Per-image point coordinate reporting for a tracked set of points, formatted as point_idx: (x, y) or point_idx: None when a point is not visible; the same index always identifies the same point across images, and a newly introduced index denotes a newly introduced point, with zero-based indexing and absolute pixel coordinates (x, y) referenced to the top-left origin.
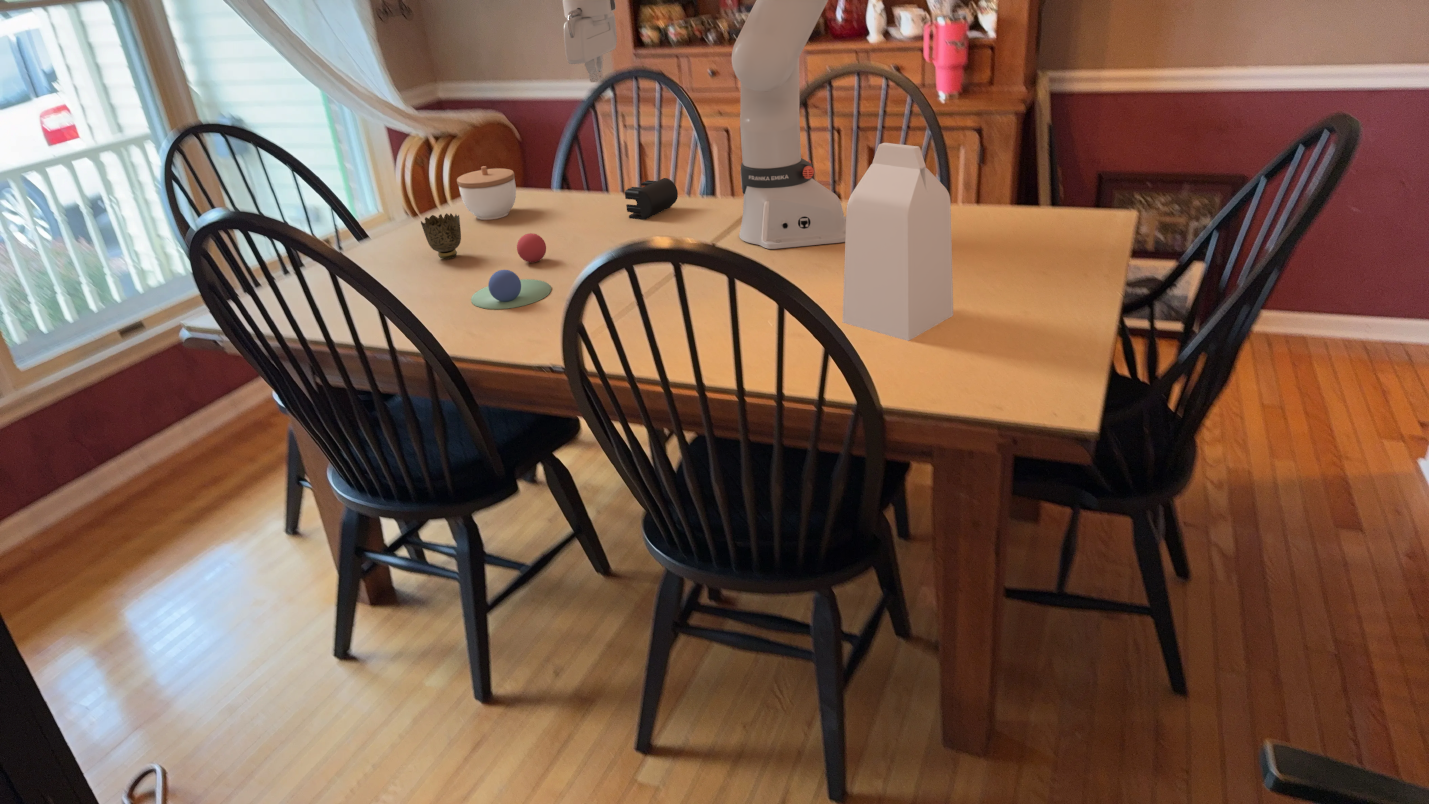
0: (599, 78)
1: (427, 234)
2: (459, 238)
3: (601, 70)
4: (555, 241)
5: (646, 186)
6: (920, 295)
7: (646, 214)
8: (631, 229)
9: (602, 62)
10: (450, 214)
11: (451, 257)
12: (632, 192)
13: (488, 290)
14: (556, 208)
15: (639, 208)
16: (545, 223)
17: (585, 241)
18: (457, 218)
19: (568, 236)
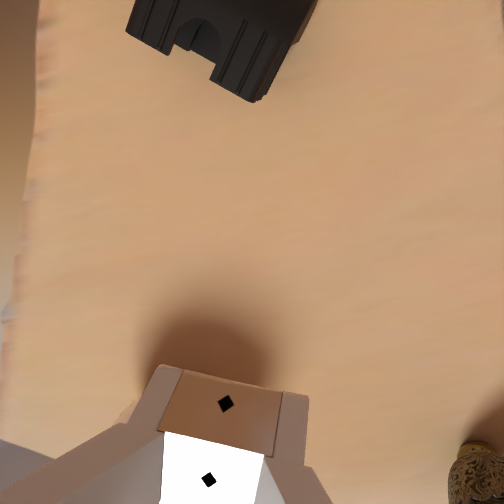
0: (257, 395)
1: None
2: (498, 461)
3: (147, 427)
4: (436, 259)
5: (252, 17)
6: None
7: (309, 19)
8: (388, 60)
9: (47, 484)
10: None
11: (492, 447)
12: (267, 72)
13: None
14: (147, 295)
15: (290, 46)
16: (270, 302)
17: (466, 182)
18: (475, 495)
19: (401, 233)
